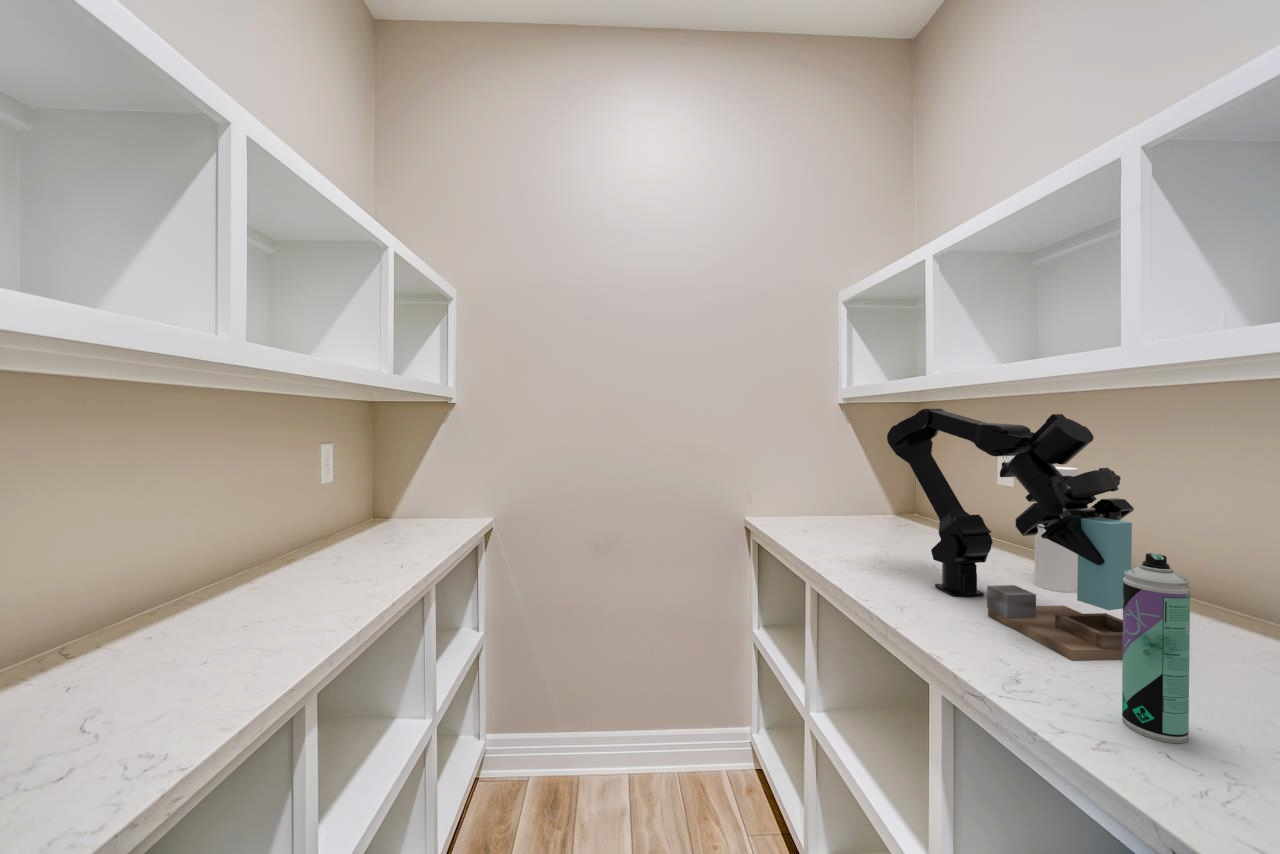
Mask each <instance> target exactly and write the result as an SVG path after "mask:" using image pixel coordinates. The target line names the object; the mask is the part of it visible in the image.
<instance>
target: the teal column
mask: <svg viewBox="0 0 1280 854" xmlns="http://www.w3.org/2000/svg"><path fill="white" fill-rule="evenodd" d="M1081 527H1082V530H1083V531H1084V533H1085V534H1086V535H1087V537H1088V538H1089V539H1090V541H1091V542H1092V543H1093V545H1094V546H1095V548H1096V549H1097V550H1098V552H1099V553H1100V555H1101V556H1102V558H1103V559H1104V561H1105V562H1104V563H1103V564H1101V565H1096V564H1094V563H1092V562H1091V561H1089V560H1087V559H1085V558H1083V557H1081V556H1080V555H1078V582H1077V591H1076V592H1077V595H1076V596H1077V597H1076V598H1077V599H1076V600H1077V601H1078V602H1082V603H1084V604H1086V605H1087V604H1088V605H1091V606H1093V607H1096V608H1100V609H1103V610H1107V611H1115V610H1123V578H1124V577H1125V571H1127V570H1132V545H1133V544H1132V543H1133V542H1132V541H1133V539H1132V537H1133V535H1132V534H1133V532H1132V531H1133V522H1131V521H1124V520H1114V519H1108V518H1102V517H1095V518H1081Z"/></svg>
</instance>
